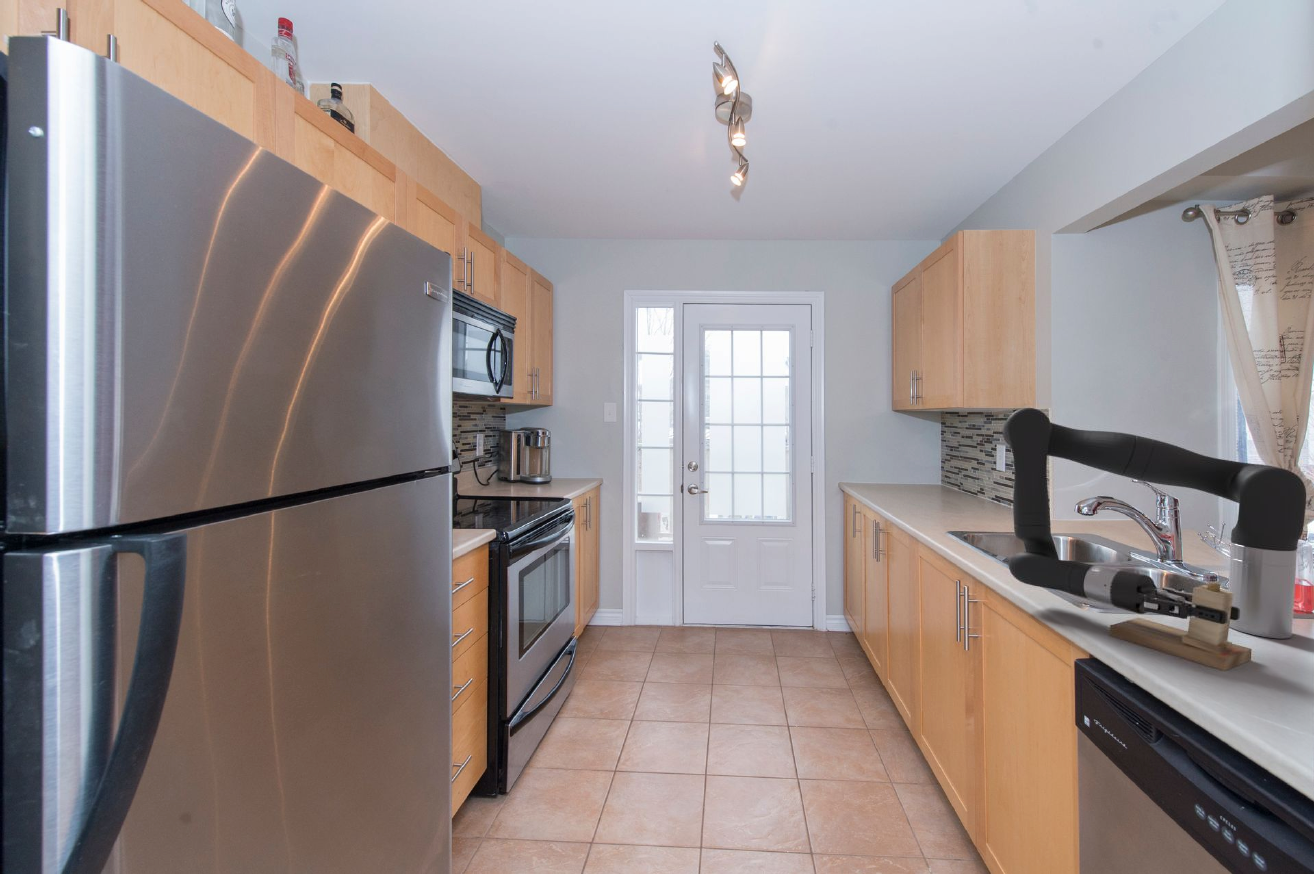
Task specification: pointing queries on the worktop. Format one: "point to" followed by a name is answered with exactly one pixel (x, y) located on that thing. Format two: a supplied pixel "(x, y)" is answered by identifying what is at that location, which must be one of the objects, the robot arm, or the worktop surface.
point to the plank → (1177, 643)
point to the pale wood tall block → (1206, 631)
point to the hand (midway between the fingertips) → (1232, 616)
